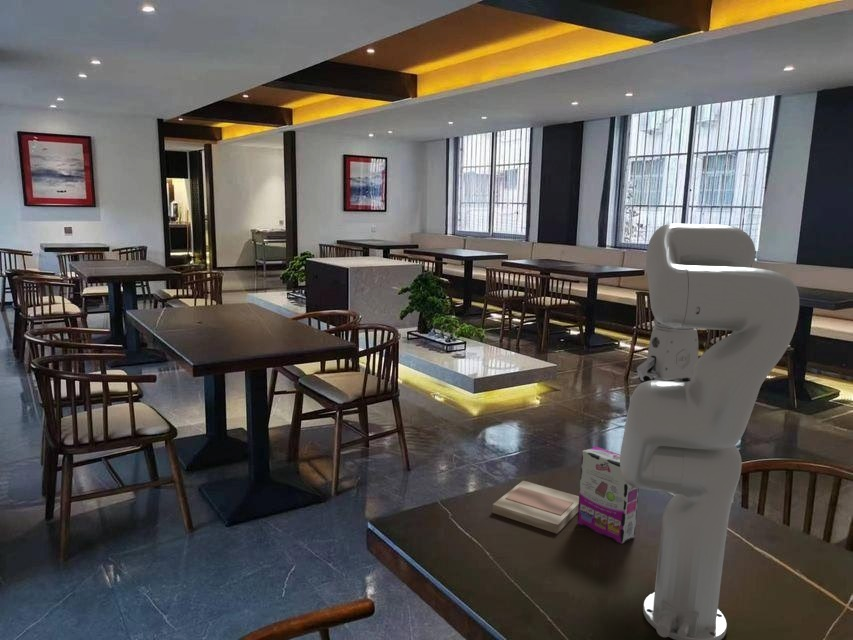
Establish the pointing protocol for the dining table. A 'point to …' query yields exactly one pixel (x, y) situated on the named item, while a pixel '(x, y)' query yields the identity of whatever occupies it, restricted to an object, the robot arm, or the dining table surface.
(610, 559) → the dining table surface
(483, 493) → the dining table surface
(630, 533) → the candy bar box
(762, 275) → the robot arm
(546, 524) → the base board
